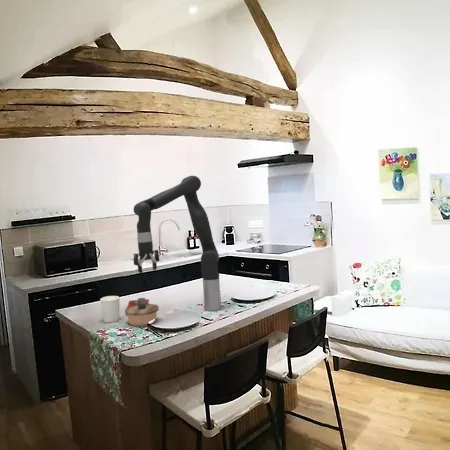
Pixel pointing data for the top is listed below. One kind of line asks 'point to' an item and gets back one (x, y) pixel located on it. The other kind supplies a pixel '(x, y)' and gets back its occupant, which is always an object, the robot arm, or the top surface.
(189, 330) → the top surface
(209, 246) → the robot arm
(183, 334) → the top surface
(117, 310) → the candle holder
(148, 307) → the lid
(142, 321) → the bowl
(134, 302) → the hardcover book
